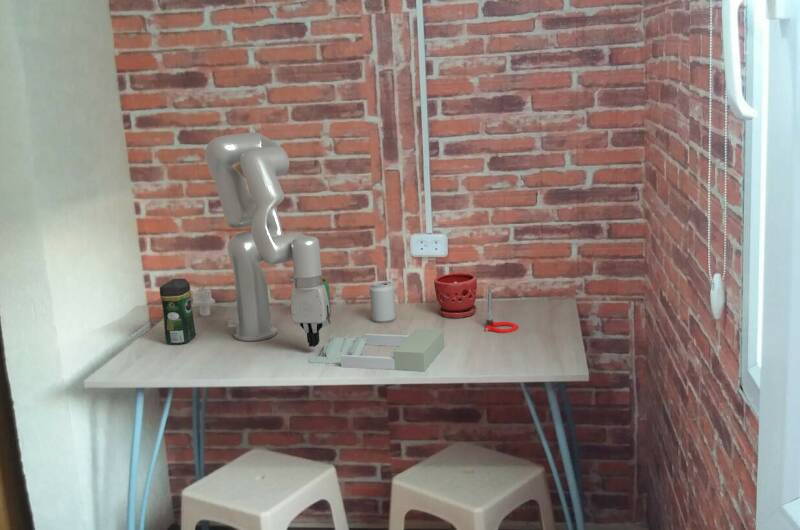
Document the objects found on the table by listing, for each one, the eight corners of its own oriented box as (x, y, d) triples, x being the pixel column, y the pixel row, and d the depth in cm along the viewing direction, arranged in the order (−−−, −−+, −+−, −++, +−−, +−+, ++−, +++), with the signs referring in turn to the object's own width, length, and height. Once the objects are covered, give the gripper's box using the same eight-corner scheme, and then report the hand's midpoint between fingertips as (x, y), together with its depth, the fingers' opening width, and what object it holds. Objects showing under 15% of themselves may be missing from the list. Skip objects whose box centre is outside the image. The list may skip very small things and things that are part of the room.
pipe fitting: (214, 316, 296) (211, 292, 295) (192, 317, 296) (189, 294, 295) (218, 311, 302) (215, 288, 301) (196, 312, 303) (194, 289, 301)
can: (400, 318, 282) (398, 280, 280) (387, 324, 276) (385, 286, 274) (380, 315, 286) (378, 278, 284) (367, 322, 280) (364, 284, 278)
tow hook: (520, 326, 268) (490, 324, 271) (521, 284, 265) (490, 282, 268) (514, 335, 261) (483, 332, 264) (515, 292, 258) (483, 289, 261)
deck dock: (341, 366, 241) (339, 348, 240) (366, 343, 259) (365, 326, 258) (424, 371, 234) (423, 352, 233) (444, 347, 252) (443, 329, 251)
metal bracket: (322, 330, 256) (373, 331, 252) (326, 347, 258) (376, 348, 254) (306, 360, 244) (359, 361, 240) (310, 377, 246) (363, 379, 242)
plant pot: (456, 306, 292) (454, 270, 290) (486, 313, 283) (485, 275, 280) (427, 315, 284) (425, 278, 281) (457, 323, 274) (455, 284, 272)
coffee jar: (174, 335, 278) (167, 276, 274) (199, 335, 276) (192, 276, 272) (161, 345, 268) (154, 284, 264) (187, 345, 267) (180, 284, 263)
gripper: (277, 284, 248) (283, 348, 252) (328, 285, 243) (333, 350, 247) (289, 277, 255) (294, 340, 259) (338, 278, 250) (343, 342, 254)
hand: (313, 345), depth 253 cm, fingers closed
